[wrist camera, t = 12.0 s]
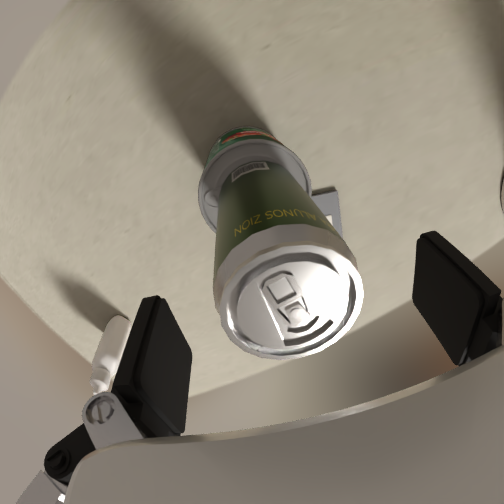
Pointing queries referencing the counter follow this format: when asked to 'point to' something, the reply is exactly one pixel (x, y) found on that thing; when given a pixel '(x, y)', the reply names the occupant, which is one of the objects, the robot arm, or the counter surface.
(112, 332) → the eye dropper bottle
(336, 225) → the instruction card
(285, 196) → the beer can
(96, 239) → the counter surface
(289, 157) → the canned tomato
